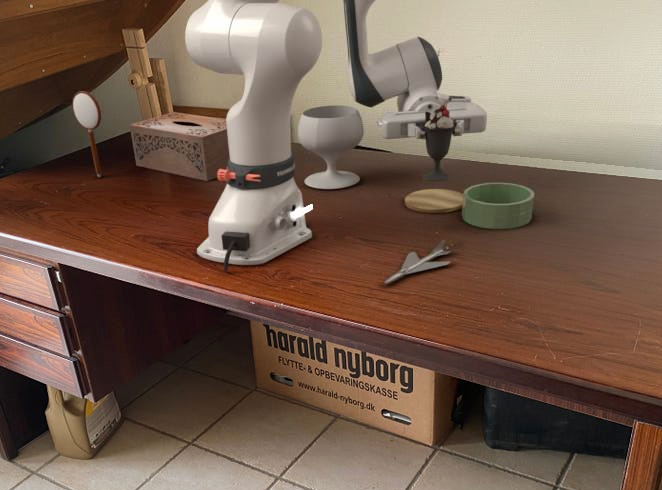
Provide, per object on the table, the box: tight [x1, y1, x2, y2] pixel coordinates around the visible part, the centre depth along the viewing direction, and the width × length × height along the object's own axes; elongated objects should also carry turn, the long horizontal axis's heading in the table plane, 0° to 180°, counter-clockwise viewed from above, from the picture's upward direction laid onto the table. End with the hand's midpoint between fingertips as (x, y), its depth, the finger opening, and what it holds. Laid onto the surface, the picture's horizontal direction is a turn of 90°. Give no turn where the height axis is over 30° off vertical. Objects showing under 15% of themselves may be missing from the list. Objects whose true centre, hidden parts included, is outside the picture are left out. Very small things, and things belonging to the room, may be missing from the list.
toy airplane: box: [383, 238, 458, 286], centre depth 118 cm, size 8×21×2 cm, turn 135°
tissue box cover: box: [129, 111, 230, 182], centre depth 175 cm, size 26×14×10 cm, turn 48°
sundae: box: [421, 98, 457, 182], centre depth 137 cm, size 7×7×15 cm
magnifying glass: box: [71, 90, 102, 178], centre depth 170 cm, size 9×2×20 cm, turn 57°
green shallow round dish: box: [461, 182, 535, 230], centre depth 133 cm, size 12×13×4 cm
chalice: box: [297, 104, 365, 190], centre depth 155 cm, size 14×14×15 cm
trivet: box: [404, 188, 463, 214], centre depth 143 cm, size 12×12×1 cm
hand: (440, 133), depth 135 cm, fingers closed on sundae, 5 cm apart
